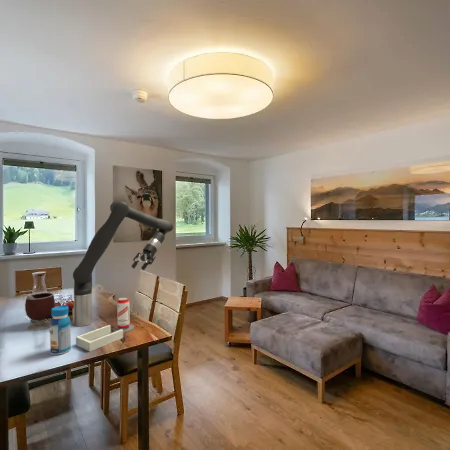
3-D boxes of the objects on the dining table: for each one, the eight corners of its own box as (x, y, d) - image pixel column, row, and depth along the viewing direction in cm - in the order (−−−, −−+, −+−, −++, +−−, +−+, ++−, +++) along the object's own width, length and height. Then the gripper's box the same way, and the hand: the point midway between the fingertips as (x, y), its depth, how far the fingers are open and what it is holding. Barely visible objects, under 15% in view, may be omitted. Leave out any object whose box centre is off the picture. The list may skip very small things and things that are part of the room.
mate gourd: (46, 319, 172) (46, 286, 171) (60, 324, 165) (59, 289, 164) (17, 328, 159) (16, 292, 158) (30, 334, 152) (29, 296, 151)
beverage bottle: (69, 354, 130) (68, 309, 130) (47, 356, 128) (46, 311, 127) (73, 345, 138) (72, 304, 138) (53, 348, 136) (52, 305, 135)
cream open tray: (89, 351, 133) (89, 342, 133) (76, 345, 139) (75, 337, 139) (123, 337, 148) (123, 329, 147) (109, 332, 154) (109, 324, 154)
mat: (109, 332, 154) (109, 331, 154) (118, 324, 165) (118, 323, 165) (129, 333, 153) (129, 332, 153) (137, 325, 164) (137, 324, 164)
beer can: (119, 325, 162) (118, 297, 161) (130, 325, 163) (130, 296, 162) (116, 330, 156) (115, 300, 155) (128, 329, 156) (127, 300, 156)
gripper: (140, 242, 181) (125, 263, 172) (157, 243, 173) (142, 265, 164) (147, 250, 186) (133, 270, 177) (163, 251, 178) (149, 273, 169)
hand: (137, 268), depth 170 cm, fingers open, 8 cm apart
